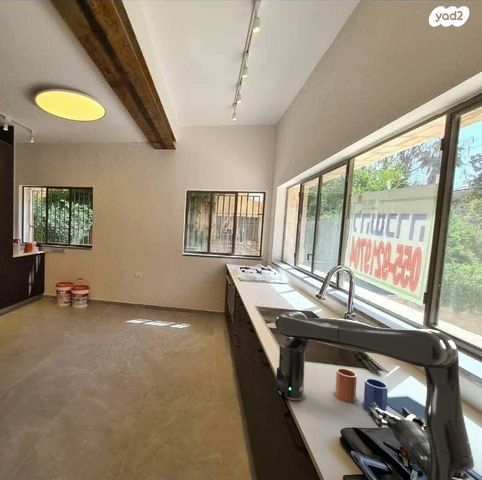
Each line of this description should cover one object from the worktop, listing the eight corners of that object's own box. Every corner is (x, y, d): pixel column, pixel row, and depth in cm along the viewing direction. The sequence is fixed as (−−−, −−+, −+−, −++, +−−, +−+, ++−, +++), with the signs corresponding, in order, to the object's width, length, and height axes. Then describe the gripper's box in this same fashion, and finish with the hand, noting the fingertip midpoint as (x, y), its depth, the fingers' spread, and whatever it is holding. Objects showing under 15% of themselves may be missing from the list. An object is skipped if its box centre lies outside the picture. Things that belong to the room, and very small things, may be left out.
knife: (381, 377, 123) (382, 374, 123) (364, 373, 126) (364, 370, 126) (367, 354, 146) (367, 352, 146) (352, 351, 148) (353, 349, 148)
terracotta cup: (344, 402, 104) (345, 377, 103) (331, 392, 110) (332, 368, 110) (359, 401, 104) (361, 376, 104) (346, 391, 111) (347, 367, 111)
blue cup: (374, 416, 96) (376, 388, 96) (359, 404, 103) (360, 378, 102) (391, 414, 97) (392, 387, 97) (374, 403, 104) (375, 377, 103)
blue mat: (413, 422, 93) (413, 421, 93) (378, 399, 106) (378, 398, 106) (445, 419, 95) (445, 419, 95) (407, 397, 108) (407, 396, 108)
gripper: (449, 436, 74) (414, 400, 89) (386, 423, 78) (363, 392, 94) (447, 462, 74) (413, 422, 89) (385, 448, 78) (362, 413, 94)
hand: (388, 407), depth 91 cm, fingers open, 8 cm apart
